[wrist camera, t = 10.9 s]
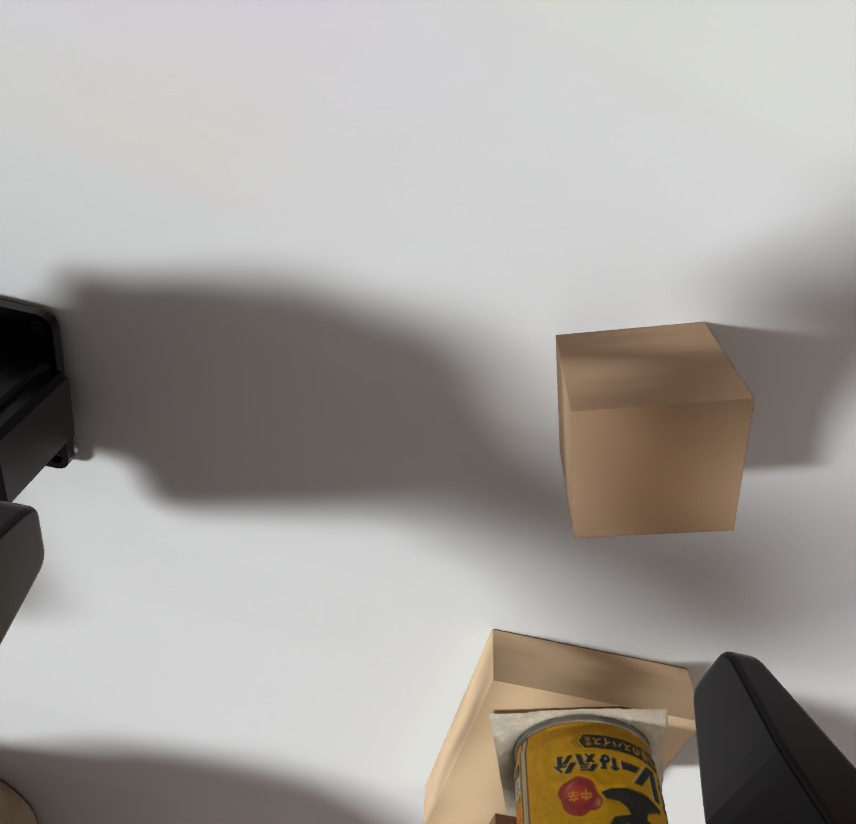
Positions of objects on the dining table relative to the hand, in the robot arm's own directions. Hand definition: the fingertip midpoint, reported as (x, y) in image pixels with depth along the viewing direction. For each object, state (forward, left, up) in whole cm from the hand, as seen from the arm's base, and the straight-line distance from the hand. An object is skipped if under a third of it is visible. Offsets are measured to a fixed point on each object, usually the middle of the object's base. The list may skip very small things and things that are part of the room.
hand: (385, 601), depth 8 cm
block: (+7, -3, -13) cm, 15 cm away
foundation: (+10, -23, -13) cm, 28 cm away
